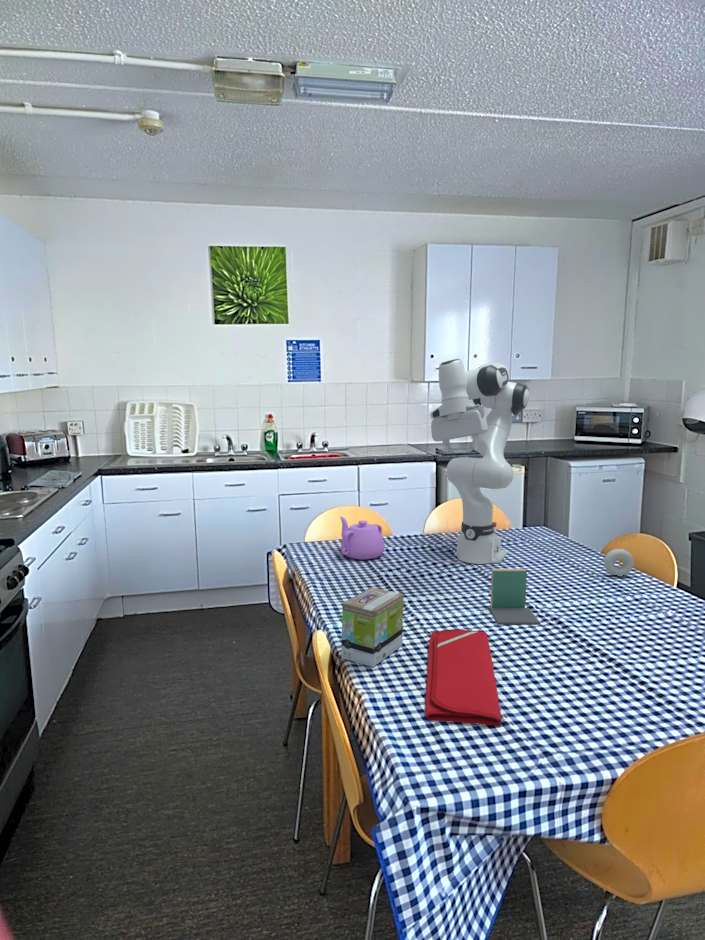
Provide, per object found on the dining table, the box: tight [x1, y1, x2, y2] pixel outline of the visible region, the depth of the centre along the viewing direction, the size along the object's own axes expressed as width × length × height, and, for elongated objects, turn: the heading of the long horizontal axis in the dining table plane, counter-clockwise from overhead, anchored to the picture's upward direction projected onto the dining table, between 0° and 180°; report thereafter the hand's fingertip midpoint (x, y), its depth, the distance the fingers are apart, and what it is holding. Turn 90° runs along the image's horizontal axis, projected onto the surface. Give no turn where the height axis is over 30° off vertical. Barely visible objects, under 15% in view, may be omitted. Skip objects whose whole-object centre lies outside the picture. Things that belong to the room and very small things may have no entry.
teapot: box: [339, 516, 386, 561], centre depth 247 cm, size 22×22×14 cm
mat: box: [489, 607, 541, 625], centre depth 184 cm, size 11×12×1 cm
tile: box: [490, 568, 528, 608], centre depth 191 cm, size 2×10×12 cm, turn 90°
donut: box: [603, 548, 635, 577], centre depth 220 cm, size 10×4×10 cm, turn 84°
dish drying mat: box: [425, 628, 502, 727], centre depth 149 cm, size 16×41×4 cm, turn 172°
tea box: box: [340, 587, 404, 668], centre depth 160 cm, size 15×10×15 cm, turn 148°
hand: (461, 451), depth 202 cm, fingers open, 8 cm apart
